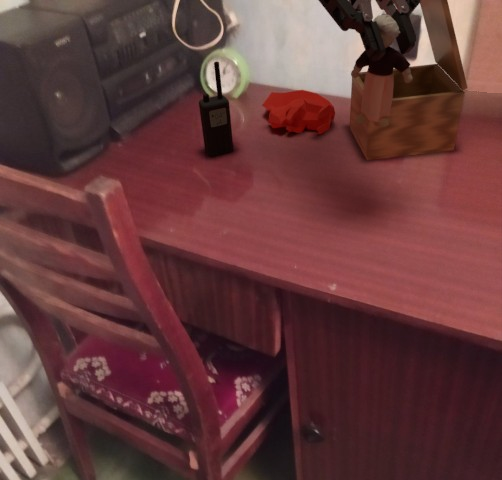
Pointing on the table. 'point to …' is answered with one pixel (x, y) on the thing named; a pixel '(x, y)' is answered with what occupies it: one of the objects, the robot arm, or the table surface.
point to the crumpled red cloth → (299, 111)
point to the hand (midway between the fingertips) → (393, 53)
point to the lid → (443, 39)
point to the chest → (411, 115)
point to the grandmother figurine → (381, 76)
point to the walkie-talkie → (216, 121)
